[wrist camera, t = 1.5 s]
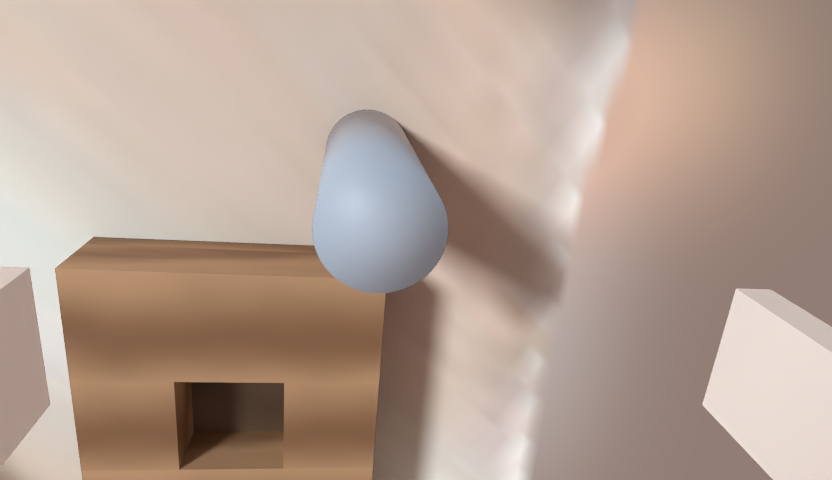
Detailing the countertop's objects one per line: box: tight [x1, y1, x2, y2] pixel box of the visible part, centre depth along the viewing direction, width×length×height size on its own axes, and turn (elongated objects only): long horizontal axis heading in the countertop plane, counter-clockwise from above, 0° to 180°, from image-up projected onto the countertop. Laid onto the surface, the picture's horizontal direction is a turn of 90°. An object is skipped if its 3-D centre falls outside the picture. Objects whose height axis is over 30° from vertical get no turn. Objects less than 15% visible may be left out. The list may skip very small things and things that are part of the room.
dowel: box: [312, 110, 448, 293], centre depth 23 cm, size 4×4×12 cm
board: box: [55, 237, 386, 480], centre depth 30 cm, size 16×14×4 cm
